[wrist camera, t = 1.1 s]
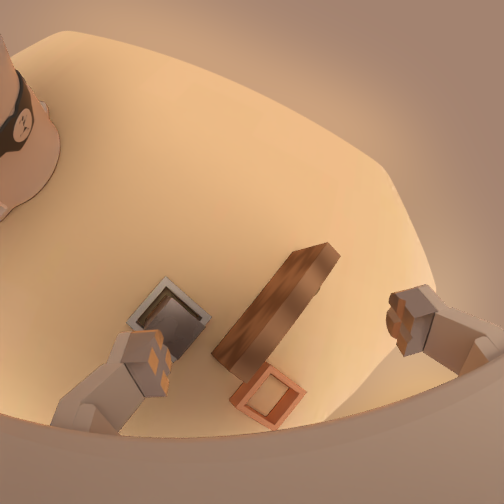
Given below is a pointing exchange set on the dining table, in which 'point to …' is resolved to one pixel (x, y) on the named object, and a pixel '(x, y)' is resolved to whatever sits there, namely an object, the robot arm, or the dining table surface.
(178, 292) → the frame
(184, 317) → the bar
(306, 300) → the door panel
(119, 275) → the dining table surface
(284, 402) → the frame
